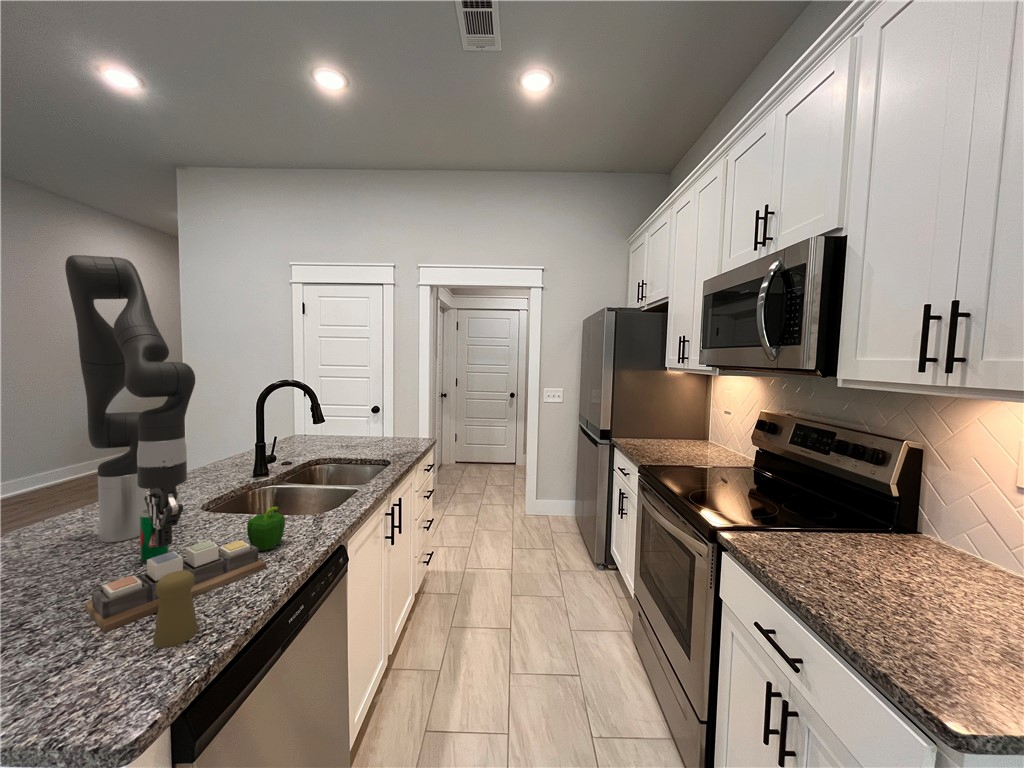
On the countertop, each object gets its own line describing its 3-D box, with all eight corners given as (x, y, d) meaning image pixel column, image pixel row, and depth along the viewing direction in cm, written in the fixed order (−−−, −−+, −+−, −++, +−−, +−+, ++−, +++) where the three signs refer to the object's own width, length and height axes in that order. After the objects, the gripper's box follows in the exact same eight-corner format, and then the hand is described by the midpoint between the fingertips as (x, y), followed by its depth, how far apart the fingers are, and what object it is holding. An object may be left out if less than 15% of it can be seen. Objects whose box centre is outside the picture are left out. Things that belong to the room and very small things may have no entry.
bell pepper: (244, 557, 98) (244, 517, 97) (249, 543, 105) (248, 506, 104) (284, 550, 101) (284, 512, 101) (285, 537, 109) (285, 501, 108)
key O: (103, 600, 75) (102, 583, 75) (134, 590, 79) (133, 573, 79) (110, 608, 73) (110, 591, 73) (142, 597, 77) (141, 580, 77)
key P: (219, 560, 92) (219, 546, 92) (240, 552, 96) (240, 539, 95) (228, 565, 89) (228, 551, 89) (250, 557, 93) (250, 544, 93)
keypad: (84, 609, 76) (84, 587, 76) (241, 553, 99) (240, 537, 99) (104, 632, 70) (103, 609, 70) (266, 568, 93) (266, 550, 93)
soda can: (151, 564, 93) (151, 514, 92) (134, 562, 94) (133, 512, 93) (174, 554, 98) (173, 506, 97) (157, 552, 99) (156, 504, 98)
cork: (170, 625, 72) (170, 565, 72) (206, 624, 73) (205, 565, 72) (143, 648, 66) (141, 584, 66) (181, 647, 67) (181, 583, 66)
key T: (147, 574, 81) (146, 558, 81) (174, 565, 85) (174, 550, 84) (155, 580, 78) (155, 564, 78) (182, 571, 82) (182, 555, 82)
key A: (185, 561, 86) (185, 546, 86) (209, 553, 90) (209, 539, 90) (194, 567, 84) (194, 552, 84) (218, 559, 88) (218, 544, 87)
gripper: (126, 459, 81) (128, 543, 81) (150, 469, 74) (152, 561, 74) (172, 453, 87) (173, 531, 88) (199, 462, 80) (200, 546, 81)
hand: (163, 545), depth 81 cm, fingers closed
